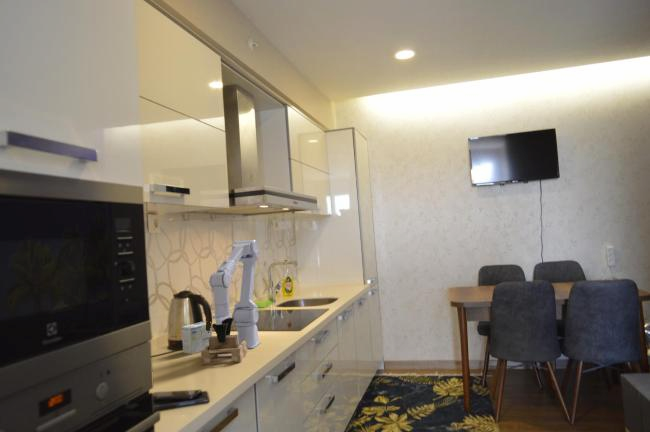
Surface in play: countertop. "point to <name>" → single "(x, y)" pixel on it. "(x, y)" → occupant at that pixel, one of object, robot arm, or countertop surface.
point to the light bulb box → (195, 337)
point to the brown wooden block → (223, 344)
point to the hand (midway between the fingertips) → (224, 340)
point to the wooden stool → (224, 355)
